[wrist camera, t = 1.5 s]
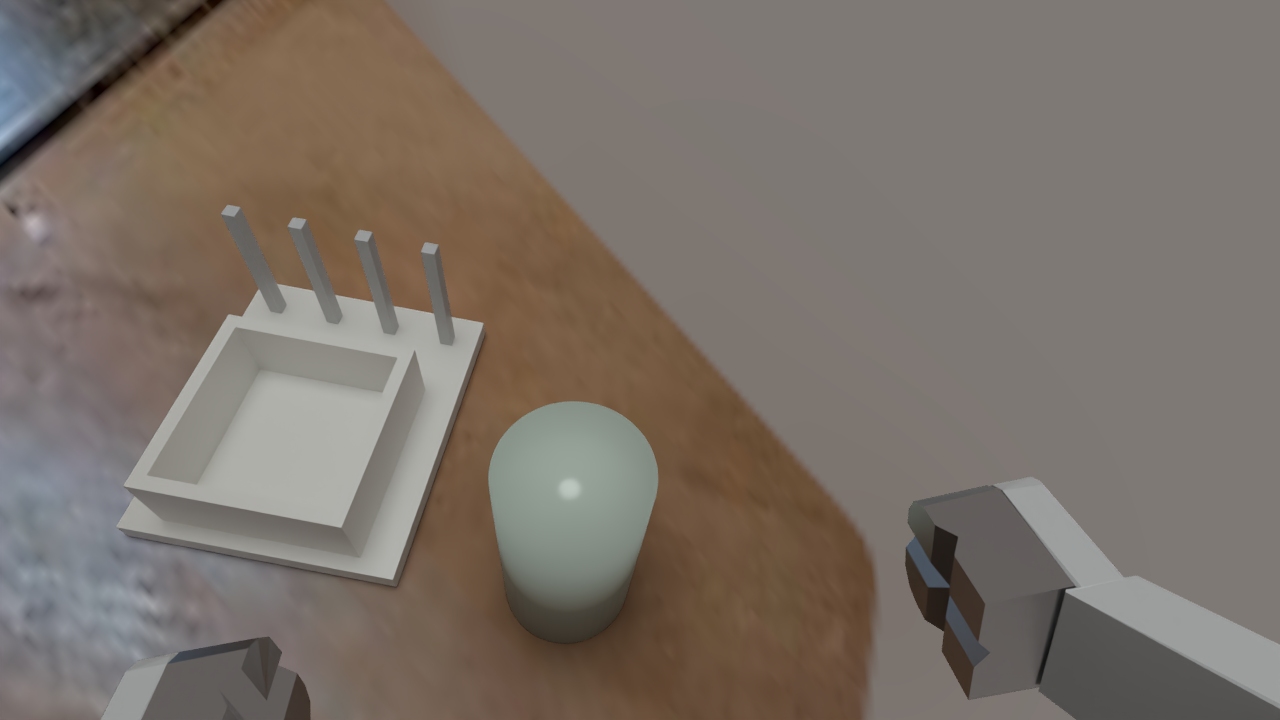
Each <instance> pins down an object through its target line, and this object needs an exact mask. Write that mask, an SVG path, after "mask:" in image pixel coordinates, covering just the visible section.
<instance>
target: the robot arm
mask: <svg viewBox="0 0 1280 720" xmlns="http://www.w3.org/2000/svg"><path fill="white" fill-rule="evenodd" d="M908 515H909V516H908V524H909V526H910V528H911V529H912V531H913V533H914V535H915V537H914V539H913V540H912V541H911V542H910V543H909V544H908V545H907V547H906V562H905V566H906V571H907V575H908V580H909V585H910V588H911V591H912V593H913V596H914V598H915V601H916V603H917V605H918V607H919V609H920V611H921V613H922V615H923V617H924V618H925V620H926V621H928V622H929V623H931V624H933V625H934V626H936V627H937V628H939V629H941V630H942V631H944V636H943V645H942V652H943V654H944V656H945V658H946V659H947V661H948V663H949V665H950V667H951V669H952V670H953V672H954V674H955V676H956V678H957V679H958V682H959V683H960V685H961V687H962V689H963V691H964V693H965V694H966V696H967V698H968V700H971V699H977V698H982V697H988V696H993V695H999V694H1004V693H1010V692H1015V691H1021V690H1026V689H1032V688H1037V687H1039V692H1041V693H1042V694H1043V695H1044V696H1046V697H1047V698H1048V699H1050V700H1051V701H1052V702H1054V703H1055V704H1056V705H1058V706H1059V707H1060V708H1062V709H1063V710H1064V711H1066V712H1067V713H1068V714H1070V715H1071V716H1072V717H1073V718H1075V719H1076V720H1280V645H1279V644H1277V643H1275V642H1273V641H1271V640H1269V639H1267V638H1265V637H1263V636H1261V635H1258V634H1256V633H1255V632H1253V631H1250V630H1248V629H1246V628H1244V627H1242V626H1240V625H1238V624H1236V623H1234V622H1232V621H1230V620H1228V619H1225V618H1224V617H1221V616H1219V615H1217V614H1215V613H1213V612H1211V611H1209V610H1207V609H1205V608H1203V607H1201V606H1199V605H1197V604H1195V603H1193V602H1191V601H1188V600H1186V599H1184V598H1182V597H1180V596H1178V595H1176V594H1174V593H1172V592H1170V591H1168V590H1166V589H1164V588H1162V587H1160V586H1158V585H1156V584H1154V583H1151V582H1149V581H1147V580H1145V579H1143V578H1141V577H1139V576H1137V575H1136V576H1130V577H1123V576H1122V575H1121V573H1120V572H1119V571H1118V570H1117V569H1116V568H1115V566H1114V565H1113V564H1112V563H1111V562H1110V561H1109V560H1108V558H1107V557H1106V556H1105V555H1104V554H1103V553H1102V552H1101V550H1100V549H1099V548H1098V547H1097V546H1096V545H1095V544H1094V542H1093V541H1092V540H1091V539H1090V538H1089V537H1088V535H1087V534H1086V533H1085V532H1084V531H1083V530H1082V528H1081V527H1080V526H1079V525H1078V524H1077V523H1076V522H1075V521H1074V519H1073V518H1072V517H1071V516H1070V515H1069V513H1068V512H1067V511H1066V510H1065V509H1064V508H1063V507H1062V506H1061V504H1060V503H1059V502H1058V501H1057V500H1056V499H1055V497H1054V496H1053V495H1052V494H1051V493H1050V492H1049V491H1048V489H1047V488H1046V487H1045V486H1044V485H1043V484H1042V482H1041V481H1039V480H1037V479H1035V478H1033V477H1028V478H1023V479H1018V480H1013V481H1009V482H1004V483H999V484H994V485H991V486H982V487H977V488H973V489H968V490H964V491H959V492H954V493H950V494H945V495H941V496H936V497H932V498H927V499H923V500H918V501H914V502H913V503H912V505H911V506H910V508H909V514H908ZM281 654H282V652H281V651H280V649H279V648H278V647H277V646H276V644H275V643H274V642H273V641H272V640H271V638H270V637H262V638H255V639H249V640H244V641H238V642H233V643H227V644H222V645H216V646H210V647H205V648H199V649H194V650H188V651H183V652H179V653H173V654H168V655H163V656H158V657H152V658H147V659H142V660H138V661H137V662H136V663H135V664H134V665H133V666H132V667H131V668H129V669H128V670H127V671H126V672H125V674H124V676H123V677H122V679H121V681H120V683H119V685H118V687H117V689H116V691H115V693H114V695H113V697H112V699H111V701H110V703H109V705H108V706H107V708H106V710H105V712H104V714H103V716H102V718H101V720H310V699H309V696H308V693H307V690H306V687H305V684H304V683H303V681H302V680H301V678H300V677H299V676H298V674H297V673H295V672H292V671H290V670H288V669H285V668H283V667H280V666H278V663H279V660H280V657H281Z"/></svg>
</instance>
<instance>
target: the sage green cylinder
mask: <svg viewBox="0 0 1280 720" xmlns="http://www.w3.org/2000/svg"><path fill="white" fill-rule="evenodd" d="M488 482H489V491H490V498H491V504H492V510H493V516H494V523H495V529H496V535H497V541H498V548H499V554H500V560H501V566H502V572H503V579H504V585H505V591H506V596H507V600H508V604H509V606H510V609H511V611H512V612H513V614H514V616H515V618H516V619H517V620H518V621H519V623H520V624H521V625H522V626H523V627H524V628H525V629H526V630H528V631H529V632H530V633H532V634H533V635H535V636H537V637H539V638H541V639H544V640H547V641H550V642H555V643H576V642H581V641H584V640H587V639H590V638H592V637H594V636H596V635H597V634H599V633H600V632H602V631H603V630H605V629H606V628H607V627H608V626H609V625H610V624H611V623H612V622H613V621H614V620H615V618H616V617H617V615H618V614H619V612H620V611H621V608H622V606H623V604H624V601H625V598H626V595H627V592H628V589H629V585H630V582H631V579H632V575H633V572H634V569H635V565H636V562H637V558H638V555H639V552H640V548H641V545H642V542H643V538H644V535H645V532H646V528H647V525H648V522H649V518H650V515H651V512H652V508H653V505H654V502H655V498H656V494H657V488H658V470H657V464H656V460H655V456H654V454H653V451H652V449H651V447H650V445H649V443H648V441H647V440H646V438H645V437H644V435H643V434H642V433H641V431H640V430H639V429H638V428H637V427H636V426H635V425H634V424H633V423H632V422H630V421H629V420H628V419H627V418H625V417H624V416H622V415H620V414H619V413H617V412H615V411H613V410H611V409H609V408H607V407H603V406H600V405H597V404H593V403H588V402H578V401H572V402H560V403H554V404H550V405H546V406H543V407H541V408H538V409H536V410H534V411H532V412H530V413H528V414H526V415H525V416H523V417H522V418H520V419H519V420H518V421H517V422H515V423H514V424H513V425H512V426H511V427H510V428H509V429H508V430H507V431H506V433H505V434H504V435H503V437H502V438H501V439H500V441H499V442H498V444H497V446H496V448H495V450H494V453H493V456H492V459H491V462H490V468H489V481H488Z"/></svg>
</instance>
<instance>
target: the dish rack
mask: <svg viewBox="0 0 1280 720" xmlns="http://www.w3.org/2000/svg"><path fill="white" fill-rule="evenodd" d="M221 215H222V217H223V219H224V221H225V223H226V225H227V227H228V229H229V231H230V233H231V235H232V237H233V239H234V241H235V243H236V245H237V247H238V249H239V251H240V253H241V255H242V257H243V259H244V261H245V262H246V264H247V266H248V268H249V270H250V272H251V274H252V276H253V278H254V280H255V282H256V284H257V286H258V288H259V290H258V291H257V293H256V295H255V296H254V298H253V300H252V301H251V303H250V305H249V306H248V308H247V310H246V311H245V313H244V315H243V316H242V317H240V316H235V315H228V316H227V318H226V320H225V321H224V323H223V325H222V326H221V328H220V329H219V331H218V333H217V334H216V336H215V338H214V339H213V341H212V342H211V344H210V346H209V347H208V349H207V351H206V352H205V354H204V356H203V357H202V359H201V360H200V362H199V364H198V365H197V367H196V369H195V370H194V372H193V373H192V375H191V377H190V378H189V380H188V382H187V383H186V385H185V386H184V388H183V390H182V391H181V393H180V395H179V396H178V398H177V399H176V401H175V403H174V404H173V406H172V408H171V409H170V411H169V412H168V414H167V416H166V417H165V419H164V421H163V422H162V424H161V425H160V427H159V429H158V430H157V432H156V434H155V435H154V437H153V438H152V440H151V442H150V443H149V445H148V447H147V448H146V450H145V452H144V453H143V455H142V456H141V458H140V460H139V461H138V463H137V465H136V466H135V468H134V469H133V471H132V473H131V474H130V476H129V478H128V479H127V481H126V482H125V484H124V487H125V488H126V489H127V490H128V491H129V492H130V493H132V494H133V495H134V498H133V500H132V501H131V503H130V505H129V506H128V508H127V510H126V511H125V513H124V515H123V516H122V518H121V520H120V521H119V523H118V525H117V526H116V527H117V528H118V529H119V530H121V531H122V532H123V533H124V534H126V535H127V536H132V537H137V538H142V539H148V540H153V541H158V542H163V543H169V544H174V545H179V546H184V547H190V548H195V549H200V550H205V551H211V552H216V553H221V554H226V555H232V556H237V557H242V558H247V559H253V560H258V561H263V562H268V563H274V564H279V565H284V566H289V567H295V568H300V569H305V570H310V571H316V572H321V573H326V574H331V575H336V576H342V577H347V578H352V579H357V580H363V581H368V582H373V583H378V584H384V585H389V586H394V587H397V585H398V582H399V579H400V576H401V574H402V571H403V568H404V565H405V562H406V559H407V556H408V554H409V551H410V548H411V545H412V542H413V539H414V536H415V534H416V531H417V528H418V525H419V522H420V519H421V516H422V514H423V511H424V508H425V505H426V502H427V499H428V496H429V493H430V491H431V488H432V485H433V482H434V479H435V476H436V473H437V471H438V468H439V465H440V462H441V459H442V456H443V453H444V451H445V448H446V445H447V442H448V439H449V436H450V433H451V431H452V428H453V425H454V422H455V419H456V416H457V413H458V411H459V408H460V405H461V402H462V399H463V396H464V393H465V390H466V388H467V385H468V382H469V379H470V376H471V373H472V370H473V368H474V365H475V362H476V359H477V356H478V353H479V350H480V348H481V345H482V342H483V339H484V336H485V328H484V323H481V322H475V321H470V320H465V319H460V318H454V317H451V311H450V306H449V300H448V295H447V289H446V284H445V278H444V272H443V267H442V261H441V256H440V250H439V245H437V244H432V243H427V242H425V244H424V246H423V248H422V251H421V255H422V259H423V264H424V269H425V274H426V278H427V283H428V288H429V293H430V297H431V302H432V307H433V312H434V314H433V313H428V312H422V311H417V310H412V309H407V308H401V307H396V306H393V303H392V300H391V296H390V293H389V289H388V286H387V282H386V278H385V275H384V271H383V268H382V264H381V261H380V257H379V254H378V250H377V247H376V243H375V239H374V236H373V232H368V231H363V230H359V231H358V233H357V235H356V237H355V239H354V240H355V244H356V247H357V250H358V253H359V256H360V259H361V263H362V266H363V269H364V272H365V275H366V278H367V282H368V285H369V288H370V291H371V294H372V297H373V301H374V302H370V301H364V300H359V299H354V298H348V297H343V296H338V295H335V293H334V291H333V288H332V286H331V283H330V280H329V278H328V275H327V272H326V270H325V267H324V265H323V262H322V259H321V257H320V254H319V251H318V249H317V246H316V244H315V241H314V238H313V236H312V233H311V230H310V228H309V225H308V223H307V220H305V219H299V218H294V217H293V219H292V220H291V222H290V224H289V225H288V229H289V232H290V234H291V236H292V239H293V241H294V244H295V246H296V248H297V251H298V253H299V256H300V258H301V261H302V263H303V265H304V268H305V270H306V273H307V275H308V277H309V280H310V282H311V285H312V287H313V289H314V291H311V290H306V289H301V288H296V287H290V286H285V285H280V284H277V283H276V281H275V279H274V277H273V275H272V273H271V271H270V268H269V266H268V264H267V262H266V260H265V258H264V256H263V254H262V252H261V249H260V247H259V245H258V243H257V241H256V239H255V237H254V235H253V233H252V230H251V228H250V226H249V224H248V222H247V220H246V218H245V216H244V214H243V212H242V209H241V207H236V206H231V205H227V206H226V208H225V209H224V210H223V212H222V213H221Z"/></svg>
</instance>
